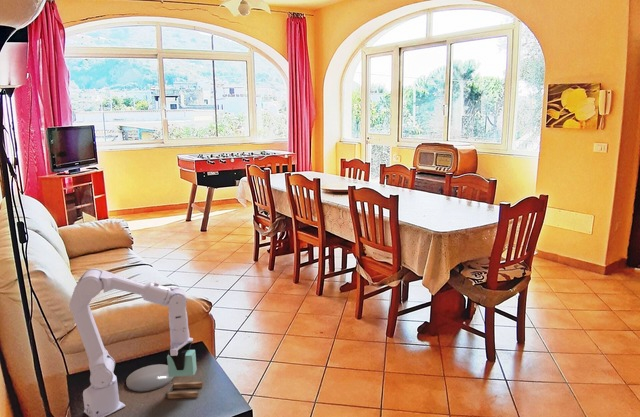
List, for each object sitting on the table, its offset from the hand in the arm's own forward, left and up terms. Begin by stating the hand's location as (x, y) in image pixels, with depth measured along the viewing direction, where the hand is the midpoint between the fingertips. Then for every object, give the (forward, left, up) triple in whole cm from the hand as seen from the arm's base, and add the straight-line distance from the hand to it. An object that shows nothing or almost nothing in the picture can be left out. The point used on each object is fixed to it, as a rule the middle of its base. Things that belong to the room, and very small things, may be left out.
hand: (182, 366), depth 149 cm
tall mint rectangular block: (0, 0, -2) cm, 2 cm away
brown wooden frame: (0, 0, -9) cm, 9 cm away
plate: (-2, +17, -9) cm, 19 cm away
